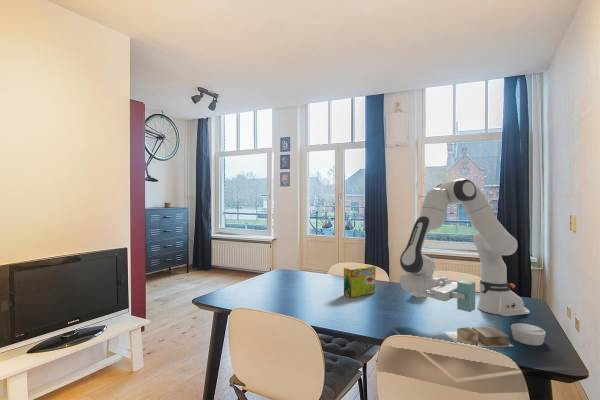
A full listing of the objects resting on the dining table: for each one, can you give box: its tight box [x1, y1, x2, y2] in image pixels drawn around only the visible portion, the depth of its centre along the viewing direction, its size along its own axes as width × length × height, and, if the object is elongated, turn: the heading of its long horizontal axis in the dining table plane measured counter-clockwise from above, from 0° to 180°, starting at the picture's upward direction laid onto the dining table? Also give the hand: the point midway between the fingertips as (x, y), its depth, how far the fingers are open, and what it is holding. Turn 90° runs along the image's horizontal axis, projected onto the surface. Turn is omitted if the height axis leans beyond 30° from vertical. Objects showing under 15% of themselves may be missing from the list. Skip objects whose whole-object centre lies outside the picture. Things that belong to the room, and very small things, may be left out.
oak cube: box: [456, 326, 478, 346], centre depth 128 cm, size 5×5×5 cm
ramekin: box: [510, 322, 546, 346], centre depth 131 cm, size 11×11×5 cm
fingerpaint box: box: [343, 264, 377, 298], centre depth 195 cm, size 19×7×16 cm, turn 122°
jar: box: [411, 293, 428, 299], centre depth 191 cm, size 9×8×12 cm
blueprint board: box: [443, 331, 514, 348], centre depth 133 cm, size 20×14×1 cm
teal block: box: [456, 279, 476, 313], centre depth 137 cm, size 5×5×11 cm
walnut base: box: [471, 326, 510, 347], centre depth 131 cm, size 9×9×4 cm
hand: (468, 294), depth 137 cm, fingers closed on teal block, 5 cm apart
